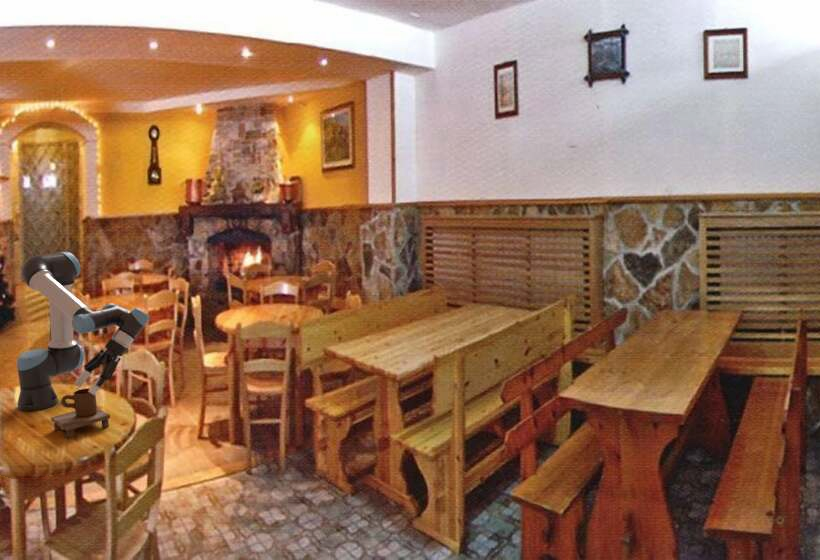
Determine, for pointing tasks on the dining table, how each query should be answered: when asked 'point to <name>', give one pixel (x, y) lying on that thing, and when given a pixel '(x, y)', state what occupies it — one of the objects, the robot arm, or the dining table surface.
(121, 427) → the dining table surface
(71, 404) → the mug
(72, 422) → the brown wooden bench
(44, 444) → the dining table surface
